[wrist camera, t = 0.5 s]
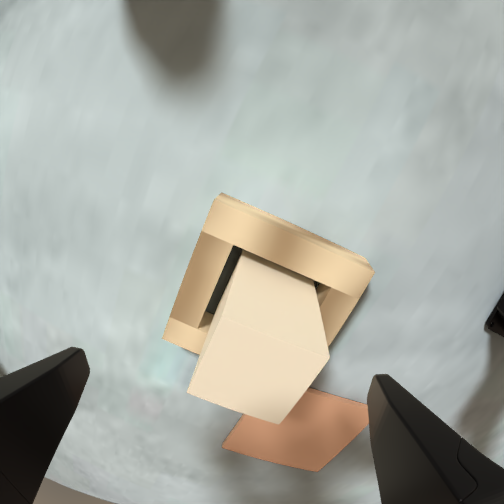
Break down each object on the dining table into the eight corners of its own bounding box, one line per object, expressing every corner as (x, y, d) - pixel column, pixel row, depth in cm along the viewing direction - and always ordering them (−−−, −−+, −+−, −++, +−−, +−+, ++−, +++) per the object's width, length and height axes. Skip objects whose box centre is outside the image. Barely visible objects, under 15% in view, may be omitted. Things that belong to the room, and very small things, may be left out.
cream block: (312, 276, 22) (330, 357, 13) (280, 332, 23) (279, 424, 15) (244, 246, 21) (221, 315, 13) (217, 306, 23) (186, 392, 15)
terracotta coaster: (378, 407, 25) (379, 411, 25) (317, 467, 29) (317, 471, 28) (269, 374, 25) (269, 378, 24) (222, 443, 28) (221, 447, 28)
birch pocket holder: (365, 258, 21) (375, 272, 19) (296, 369, 24) (297, 390, 22) (221, 192, 20) (214, 199, 18) (172, 320, 24) (161, 338, 21)
